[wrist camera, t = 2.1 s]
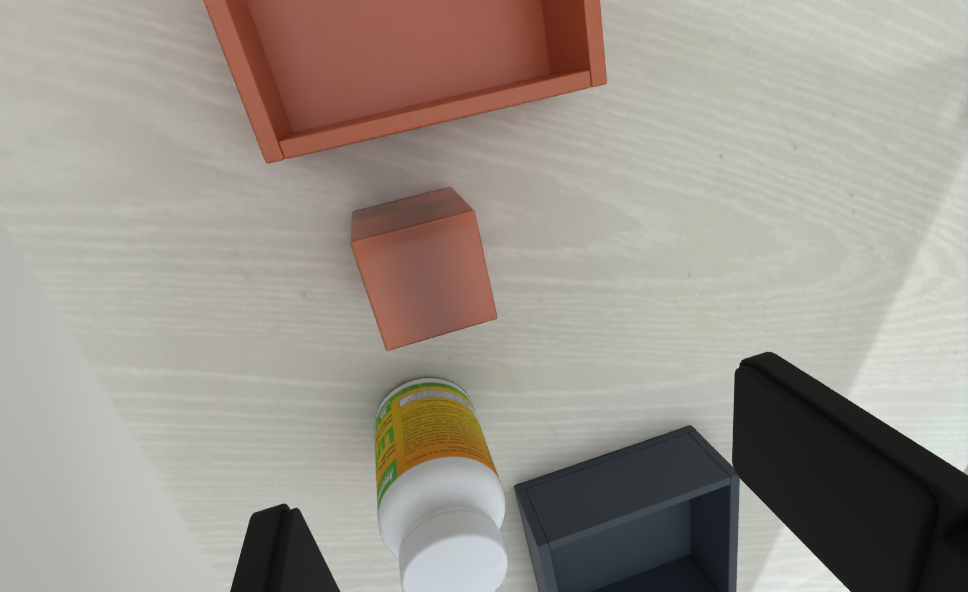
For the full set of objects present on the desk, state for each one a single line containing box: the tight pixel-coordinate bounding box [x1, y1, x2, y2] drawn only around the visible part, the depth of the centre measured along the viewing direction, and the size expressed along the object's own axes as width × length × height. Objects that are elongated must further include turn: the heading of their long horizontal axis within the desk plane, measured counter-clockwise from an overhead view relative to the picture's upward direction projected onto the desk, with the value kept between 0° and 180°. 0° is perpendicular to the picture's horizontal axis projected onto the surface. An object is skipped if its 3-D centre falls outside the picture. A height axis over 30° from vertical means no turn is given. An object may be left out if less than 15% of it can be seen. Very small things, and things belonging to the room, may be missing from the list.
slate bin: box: [514, 426, 740, 592], centre depth 31 cm, size 12×12×4 cm
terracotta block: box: [350, 187, 497, 351], centre depth 21 cm, size 5×5×5 cm
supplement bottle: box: [375, 378, 508, 592], centre depth 22 cm, size 5×5×10 cm
